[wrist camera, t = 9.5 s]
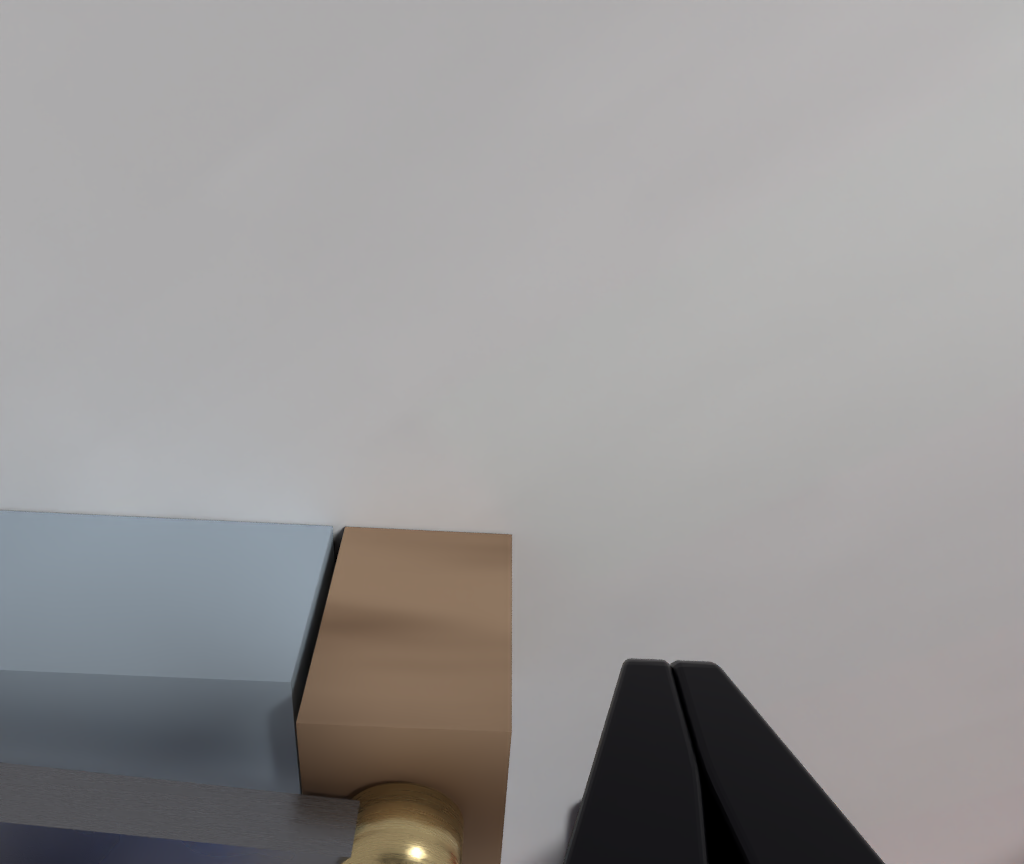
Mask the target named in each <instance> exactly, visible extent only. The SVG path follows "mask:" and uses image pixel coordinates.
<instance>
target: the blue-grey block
mask: <svg viewBox="0 0 1024 864" xmlns="http://www.w3.org/2000/svg"><path fill="white" fill-rule="evenodd" d="M334 569H335V565H334V546H333V526H317V525H296V524H275V523H254V522H233V521H212V520H191V519H169V518H148V517H127V516H106V515H85V514H64V513H42V512H21V511H0V762H2V763H12V764H21V765H30V766H40V767H49V768H59V769H68V770H77V771H87V772H96V773H106V774H115V775H124V776H134V777H143V778H153V779H162V780H171V781H181V782H190V783H200V784H209V785H218V786H228V787H237V788H247V789H256V790H265V791H275V792H284V793H293V794H302V786H301V774H300V763H299V751H298V740H297V728H296V721H297V717H298V713H299V709H300V705H301V701H302V697H303V693H304V689H305V685H306V681H307V677H308V673H309V669H310V665H311V661H312V657H313V653H314V649H315V645H316V641H317V637H318V633H319V629H320V625H321V621H322V617H323V613H324V609H325V605H326V601H327V597H328V593H329V589H330V585H331V581H332V577H333V573H334Z"/></svg>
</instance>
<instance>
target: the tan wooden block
mask: <svg viewBox="0 0 1024 864" xmlns="http://www.w3.org/2000/svg"><path fill="white" fill-rule="evenodd" d="M296 728H297V740H298V751H299V763H300V774H301V786H302V794H303V795H312V796H322V797H331V798H340V799H350V800H351V799H352V798H353V797H354V796H356V795H357V794H358V793H360V792H362V791H364V790H366V789H368V788H371V787H374V786H377V785H382V784H387V783H412V784H418V785H422V786H426V787H429V788H432V789H434V790H437V791H439V792H441V793H442V794H444V795H446V796H447V797H448V798H450V799H451V800H452V801H453V802H454V803H455V804H456V805H457V806H458V808H459V809H460V811H461V813H462V816H463V820H464V832H463V852H462V864H500V862H501V850H502V838H503V827H504V815H505V803H506V791H507V780H508V768H509V756H510V744H511V732H512V535H508V534H487V533H466V532H444V531H423V530H402V529H381V528H360V527H345V529H344V533H343V537H342V541H341V545H340V549H339V553H338V557H337V561H336V565H335V569H334V573H333V577H332V581H331V585H330V589H329V593H328V597H327V601H326V605H325V609H324V613H323V617H322V621H321V625H320V629H319V633H318V637H317V641H316V645H315V649H314V653H313V657H312V661H311V665H310V669H309V673H308V677H307V681H306V685H305V689H304V693H303V697H302V701H301V705H300V709H299V713H298V717H297V721H296Z"/></svg>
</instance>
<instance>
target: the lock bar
mask: <svg viewBox="0 0 1024 864" xmlns="http://www.w3.org/2000/svg"><path fill="white" fill-rule="evenodd" d="M463 832H464V820H463V816H462V813H461V811H460V809H459V808H458V806H457V805H456V804H455V803H454V802H453V801H452V800H451V799H450V798H448V797H447V796H446V795H444V794H442V793H441V792H439V791H437V790H434V789H432V788H429V787H426V786H422V785H418V784H412V783H387V784H382V785H377V786H374V787H371V788H368V789H366V790H364V791H362V792H360V793H358V794H357V795H356V796H354V797H353V798H352V799H351V800H350V799H340V798H331V797H322V796H312V795H303V794H293V793H284V792H275V791H265V790H256V789H247V788H237V787H228V786H218V785H209V784H200V783H190V782H181V781H171V780H162V779H153V778H143V777H134V776H124V775H115V774H106V773H96V772H87V771H77V770H68V769H59V768H49V767H40V766H30V765H21V764H12V763H2V762H0V864H462V852H463Z"/></svg>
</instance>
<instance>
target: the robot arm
mask: <svg viewBox="0 0 1024 864" xmlns="http://www.w3.org/2000/svg"><path fill="white" fill-rule="evenodd" d="M563 864H885V863H884V862H883V861H882V860H881V858H880V857H879V856H878V855H877V854H876V853H875V851H874V850H873V849H872V848H871V847H870V845H869V844H868V843H867V842H866V841H865V839H864V838H863V837H862V836H861V835H860V833H859V832H858V831H857V830H856V829H855V827H854V826H853V825H852V824H851V823H850V821H849V820H848V819H847V818H846V817H845V816H844V814H843V813H842V812H841V811H840V810H839V808H838V807H837V806H836V805H835V804H834V802H833V801H832V800H831V799H830V798H829V796H828V795H827V794H826V793H825V792H824V790H823V789H822V788H821V787H820V786H819V784H818V783H817V782H816V781H815V780H814V778H813V777H812V776H811V775H810V774H809V773H808V771H807V770H806V769H805V768H804V767H803V765H802V764H801V763H800V762H799V761H798V759H797V758H796V757H795V756H794V755H793V753H792V752H791V751H790V750H789V749H788V747H787V746H786V745H785V744H784V743H783V741H782V740H781V739H780V738H779V737H778V736H777V734H776V733H775V732H774V731H773V730H772V728H771V727H770V726H769V725H768V724H767V722H766V721H765V720H764V719H763V718H762V716H761V715H760V714H759V713H758V712H757V710H756V709H755V708H754V707H753V706H752V704H751V703H750V702H749V701H748V700H747V698H746V697H745V696H744V695H743V694H742V693H741V691H740V690H739V689H738V688H737V687H736V685H735V684H734V683H733V682H732V681H731V679H730V678H729V677H728V676H727V675H726V673H725V672H724V671H723V670H722V669H721V668H720V667H719V666H718V665H716V664H715V663H713V662H704V661H680V660H678V661H675V662H673V663H671V665H669V664H668V663H667V662H666V661H665V660H656V659H627V660H625V662H624V663H623V665H622V668H621V671H620V675H619V678H618V681H617V685H616V688H615V691H614V695H613V698H612V701H611V705H610V708H609V711H608V715H607V718H606V721H605V725H604V728H603V731H602V735H601V738H600V741H599V745H598V748H597V752H596V755H595V758H594V762H593V765H592V768H591V772H590V775H589V778H588V782H587V785H586V788H585V792H584V795H583V798H582V802H581V805H580V808H579V812H578V815H577V818H576V822H575V825H574V829H573V832H572V835H571V839H570V842H569V845H568V849H567V852H566V855H565V859H564V862H563Z"/></svg>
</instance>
